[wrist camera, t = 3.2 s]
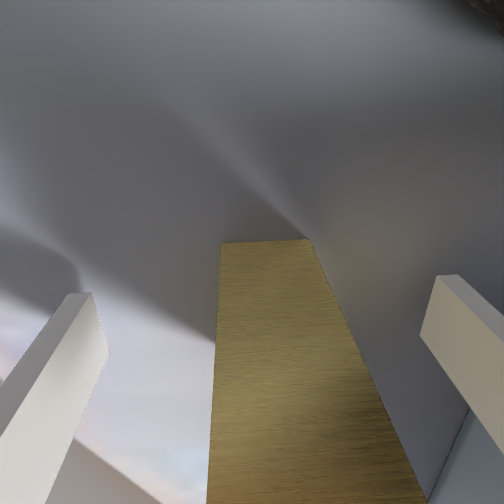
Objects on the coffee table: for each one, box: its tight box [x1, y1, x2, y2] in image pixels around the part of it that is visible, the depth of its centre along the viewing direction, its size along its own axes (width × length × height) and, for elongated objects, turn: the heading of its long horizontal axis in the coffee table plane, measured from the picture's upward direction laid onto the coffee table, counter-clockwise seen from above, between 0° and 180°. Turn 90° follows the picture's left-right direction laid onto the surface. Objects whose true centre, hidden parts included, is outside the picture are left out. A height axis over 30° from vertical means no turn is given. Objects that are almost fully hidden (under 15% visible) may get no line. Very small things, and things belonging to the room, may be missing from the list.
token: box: [206, 239, 428, 504], centre depth 9 cm, size 5×3×8 cm, turn 1°
